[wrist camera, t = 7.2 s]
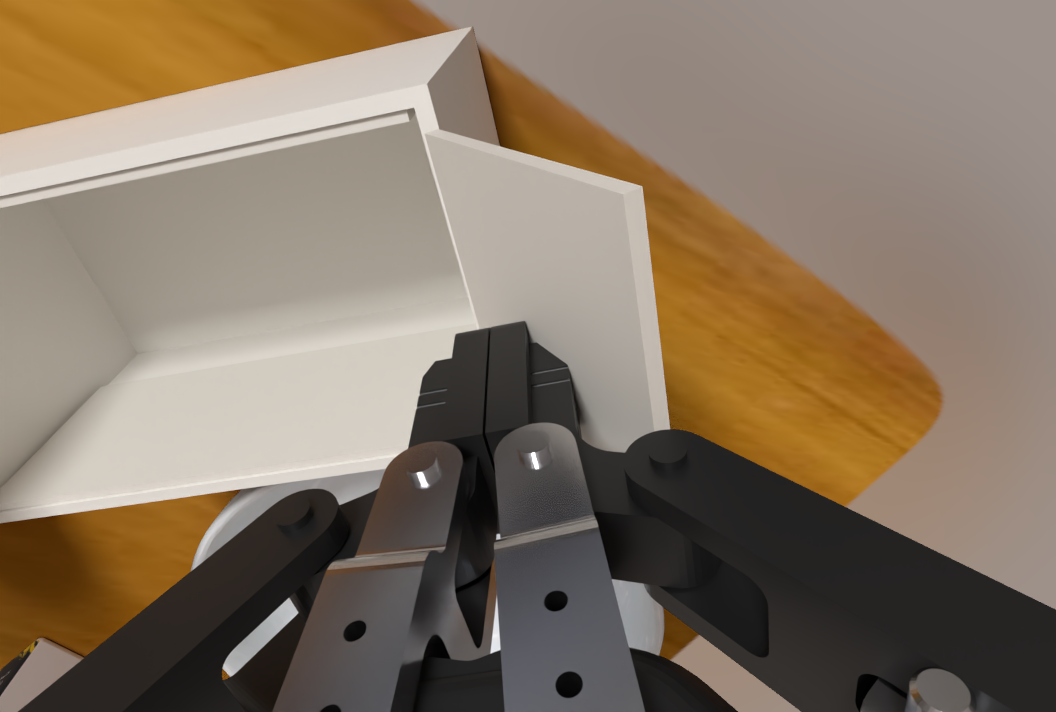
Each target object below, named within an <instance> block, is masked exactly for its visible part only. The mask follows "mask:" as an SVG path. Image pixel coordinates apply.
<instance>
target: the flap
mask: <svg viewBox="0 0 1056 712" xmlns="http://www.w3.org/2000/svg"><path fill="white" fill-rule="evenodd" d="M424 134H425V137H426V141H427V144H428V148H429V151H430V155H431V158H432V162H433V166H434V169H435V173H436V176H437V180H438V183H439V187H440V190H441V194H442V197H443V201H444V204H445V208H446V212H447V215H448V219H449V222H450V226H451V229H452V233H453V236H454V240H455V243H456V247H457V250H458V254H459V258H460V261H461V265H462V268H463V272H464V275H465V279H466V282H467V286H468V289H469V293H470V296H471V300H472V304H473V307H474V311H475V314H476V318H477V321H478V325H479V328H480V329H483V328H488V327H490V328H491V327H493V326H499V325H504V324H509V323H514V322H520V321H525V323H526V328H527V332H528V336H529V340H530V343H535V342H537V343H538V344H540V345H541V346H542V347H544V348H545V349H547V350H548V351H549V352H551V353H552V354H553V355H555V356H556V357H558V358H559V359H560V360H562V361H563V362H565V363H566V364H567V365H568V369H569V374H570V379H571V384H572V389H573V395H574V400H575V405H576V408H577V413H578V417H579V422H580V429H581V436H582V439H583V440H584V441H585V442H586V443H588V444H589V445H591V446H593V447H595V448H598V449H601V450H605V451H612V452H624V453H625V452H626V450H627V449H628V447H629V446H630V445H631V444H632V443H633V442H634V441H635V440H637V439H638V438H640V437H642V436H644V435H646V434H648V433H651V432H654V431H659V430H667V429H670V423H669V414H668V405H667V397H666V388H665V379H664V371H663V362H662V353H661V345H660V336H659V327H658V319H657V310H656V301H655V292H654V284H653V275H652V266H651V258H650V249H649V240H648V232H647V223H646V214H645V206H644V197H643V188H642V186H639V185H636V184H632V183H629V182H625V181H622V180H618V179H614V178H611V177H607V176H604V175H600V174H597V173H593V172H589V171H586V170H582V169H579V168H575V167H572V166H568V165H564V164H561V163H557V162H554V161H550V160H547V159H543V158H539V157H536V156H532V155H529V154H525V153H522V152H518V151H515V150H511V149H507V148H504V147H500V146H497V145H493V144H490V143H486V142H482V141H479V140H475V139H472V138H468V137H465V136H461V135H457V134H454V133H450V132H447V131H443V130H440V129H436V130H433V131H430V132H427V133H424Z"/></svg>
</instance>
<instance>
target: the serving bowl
mask: <svg viewBox="0 0 1056 712" xmlns="http://www.w3.org/2000/svg"><path fill="white" fill-rule="evenodd" d="M385 470H386V469H380V470H373V471H366V472H359V473H352V474H345V475H338V476H331V477H324V478H316V479H309V480H302V481H295V482H288V483H281V484H274V485H267V486H260V487H253V488H246V489H242V490H241V491H240V492H239V493H238V494H237V495H236V496H235V497H234V498H233V499H232V500H231V501H230V502H229V503H228V505H227V506H226V507H225V508H224V509H223V511H222V512H221V513H220V514H219V515H218V516H217V518H216V519H215V520H214V522H213V523H212V524H211V526H210V527H209V528H208V530H207V532H206V533H205V535H204V537H203V539H202V540H201V542H200V544H199V547H198V549H197V552H196V554H195V557H194V560H193V564H192V568H191V571H192V570H193V569H195V568H196V567H197V566H198V565H200V564H201V563H202V562H203V561H205V560H206V559H207V558H208V557H210V556H211V555H212V554H213V553H214V552H216V551H217V550H218V549H219V548H221V547H222V546H223V545H224V544H226V543H227V542H228V541H229V540H231V539H232V538H233V537H234V536H235V535H237V534H238V533H239V532H240V531H242V530H243V529H244V528H245V527H247V526H248V525H249V524H250V523H252V522H253V521H254V520H255V519H256V518H258V517H259V516H260V515H261V514H263V513H264V512H265V511H266V510H268V509H269V508H270V507H271V506H273V505H274V504H275V503H277V502H278V501H280V500H281V499H283V498H285V497H287V496H289V495H291V494H293V493H296V492H299V491H302V490H306V489H324V490H327V491H329V492H331V493H332V494H333V495H334V496H335V497H336V499H337V501H338V503H339V505H341V504H344V503H346V502H349V501H351V500H353V499H356V498H358V497H361V496H363V495H366V494H368V493H370V492H372V491H374V490H376V489H378V488H379V486H380V483H381V480H382V477H383V474H384V472H385ZM498 539H500V534H497V537H496V540H498ZM612 582H613V586H614V590H615V594H616V598H617V602H618V606H619V610H620V614H621V618H622V622H623V626H624V630H625V634H626V638H627V642H628V646H629V647H630V648H635V649H639V650H643V651H647V652H650V653H653V654H655V655H658V656H659V654H660V650H661V646H662V642H663V636H664V610H663V607H662V606H661V605H660V604H659V603H657V602H656V601H655V600H654V599H653V598H651V596H650V595H649V594H648V593H647V591H646V589H645V587H644V584H642V583H635V582H628V581H621V580H614V579H612ZM297 614H298V611H297V610H296V608H295V606H294V605H293V603H292V601H291V600H290V598H288V599H287V600H286V601H285V602H284V603H283V604H282V605H281V606H280V607H278V608H277V609H276V610H275V611H274V612H273V613H272V614H271V615H270V616H269V617H268V618H267V619H266V620H264V621H263V622H262V623H261V624H260V625H259V626H258V627H257V628H256V629H255V630H254V631H253V632H252V633H250V634H249V635H248V636H247V637H246V638H245V639H244V640H243V641H242V642H241V643H240V644H239V645H238V646H237V647H235V648H234V649H233V651H232V652H231V653H230V654H229V655H228V657H227V659H226V660H225V663H224V665H223V669H224V670H225V671H226V673H227V674H228V675H229V676H230V677H231V676H233V675H234V674H235V673H236V672H237V671H239V670H240V669H241V668H242V667H243V666H244V665H245V664H246V663H247V662H248V661H249V660H250V659H251V658H252V657H253V656H254V655H255V654H256V653H257V652H258V651H259V650H260V649H261V648H263V647H264V646H265V645H266V644H267V643H268V642H269V641H270V640H271V639H272V638H273V637H274V636H275V635H276V634H277V633H278V632H279V631H280V630H281V629H282V628H283V627H284V626H285V625H287V624H288V623H289V622H290V621H291V620H292V619H293V618H294V617H295V616H296V615H297ZM499 650H501V649H500V634H499V619H498V604H497V598H496V607H495V616H494V625H493V634H492V643H491V652H490V654H491V653H493V652H496V651H499Z"/></svg>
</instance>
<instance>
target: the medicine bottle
mask: <svg viewBox="0 0 1056 712" xmlns="http://www.w3.org/2000/svg"><path fill="white" fill-rule="evenodd" d="M82 659H84V657H82V656H80V655H78V654H76V653H74V652H72V651H70V650H68V649H66V648H64V647H62V646H60V645H58V644H56V643H54V642H52V641H50V640H48V639H46V638H39V639H37V640H36V641H35V642H33V643H32V644H31V645H30V646H29V647H27V648H26V649H25V650H24V651H23V652H21V653H20V654H19V655H18V656H17V657H15V658H14V659H13V660H12V661H11V662H9V663H8V664H7V665H6V666H5V667H3V668H2V669H1V670H0V712H18V711H19V710H21V709H22V708H23V707H24V706H25V705H27V704H28V703H29V702H30V701H32V700H33V699H34V698H35V697H37V696H38V695H39V694H40V693H42V692H43V691H44V690H45V689H46V688H48V687H49V686H50V685H51V684H53V683H54V682H55V681H56V680H58V679H59V678H60V677H61V676H63V675H64V674H65V673H66V672H67V671H69V670H70V669H71V668H72V667H74V666H75V665H76V664H77V663H79V662H80V661H81V660H82Z"/></svg>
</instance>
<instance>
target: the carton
mask: <svg viewBox="0 0 1056 712" xmlns="http://www.w3.org/2000/svg"><path fill="white" fill-rule="evenodd" d="M436 129H440V130H443V131H447V132H450V133H454V134H457V135H461V136H465V137H468V138H472V139H475V140H479V141H482V142H486V143H490V144H493V145H497V146H500V144H499V140H498V135H497V131H496V126H495V122H494V118H493V113H492V109H491V104H490V100H489V95H488V91H487V86H486V82H485V78H484V73H483V69H482V64H481V60H480V55H479V51H478V47H477V42H476V38H475V33H474V29H473V27H468V28H463V29H459V30H455V31H450V32H446V33H442V34H437V35H433V36H428V37H424V38H420V39H415V40H411V41H407V42H402V43H398V44H393V45H389V46H385V47H380V48H376V49H372V50H367V51H363V52H358V53H354V54H350V55H345V56H341V57H336V58H332V59H328V60H323V61H319V62H315V63H310V64H306V65H301V66H297V67H293V68H288V69H284V70H280V71H275V72H271V73H266V74H262V75H258V76H253V77H249V78H245V79H240V80H236V81H231V82H227V83H223V84H218V85H214V86H210V87H205V88H201V89H196V90H192V91H188V92H183V93H179V94H174V95H170V96H166V97H161V98H157V99H153V100H148V101H144V102H139V103H135V104H131V105H126V106H122V107H118V108H113V109H109V110H104V111H100V112H96V113H91V114H87V115H83V116H78V117H74V118H69V119H65V120H61V121H56V122H52V123H48V124H43V125H39V126H34V127H30V128H26V129H21V130H17V131H13V132H8V133H4V134H0V523H6V522H13V521H20V520H27V519H34V518H41V517H48V516H55V515H62V514H69V513H76V512H83V511H90V510H97V509H104V508H112V507H119V506H126V505H133V504H140V503H147V502H154V501H161V500H168V499H175V498H182V497H189V496H196V495H203V494H210V493H218V492H225V491H232V490H239V489H246V488H253V487H260V486H267V485H274V484H281V483H288V482H295V481H302V480H309V479H316V478H324V477H331V476H338V475H345V474H352V473H359V472H366V471H373V470H380V469H386V468H387V466H388V465H389V463H390V462H391V461H392V460H393V459H394V458H395V457H396V456H397V455H399V454H400V453H402V452H403V451H405V450H407V449H408V446H409V441H410V436H411V431H412V426H413V422H414V417H415V412H416V409H417V402H418V397H419V396H420V393H419V392H420V388H421V383H422V378H423V376H424V375H425V373H426V372H427V371H428V370H429V368H430V367H431V366H432V365H433V363H434V362H435V361H439V360H444V359H449V358H452V353H453V346H454V339H455V335H456V334H457V333H462V332H467V331H473V330H478V329H480V328H479V325H478V321H477V318H476V314H475V311H474V307H473V304H472V300H471V296H470V293H469V289H468V286H467V282H466V279H465V275H464V272H463V268H462V265H461V261H460V258H459V254H458V250H457V247H456V243H455V240H454V236H453V233H452V229H451V226H450V222H449V219H448V215H447V212H446V208H445V204H444V201H443V197H442V194H441V190H440V187H439V183H438V180H437V176H436V173H435V169H434V166H433V162H432V158H431V155H430V151H429V148H428V144H427V141H426V137H425V134H424V133H427V132H430V131H433V130H436Z"/></svg>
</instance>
